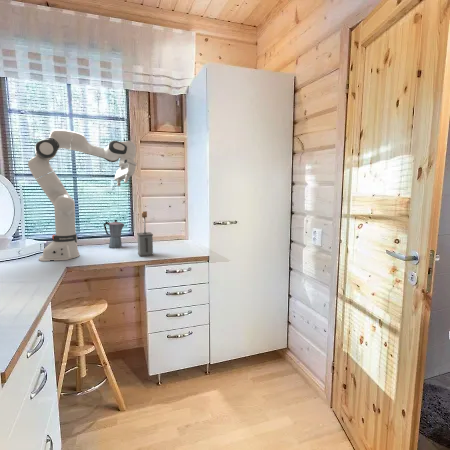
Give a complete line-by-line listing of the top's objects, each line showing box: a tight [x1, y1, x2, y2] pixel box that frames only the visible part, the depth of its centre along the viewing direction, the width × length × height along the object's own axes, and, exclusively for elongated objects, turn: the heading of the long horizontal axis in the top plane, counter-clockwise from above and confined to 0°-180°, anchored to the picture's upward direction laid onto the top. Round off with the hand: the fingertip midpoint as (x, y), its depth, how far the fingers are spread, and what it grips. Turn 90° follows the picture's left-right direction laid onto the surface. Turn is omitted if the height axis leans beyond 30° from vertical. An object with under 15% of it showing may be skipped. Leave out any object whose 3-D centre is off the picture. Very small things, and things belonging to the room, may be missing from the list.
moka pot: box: [103, 219, 125, 249], centre depth 223 cm, size 10×15×20 cm, turn 89°
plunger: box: [141, 211, 148, 234], centre depth 200 cm, size 6×6×20 cm
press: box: [136, 231, 154, 258], centre depth 200 cm, size 8×11×14 cm
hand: (122, 184), depth 200 cm, fingers open, 8 cm apart
